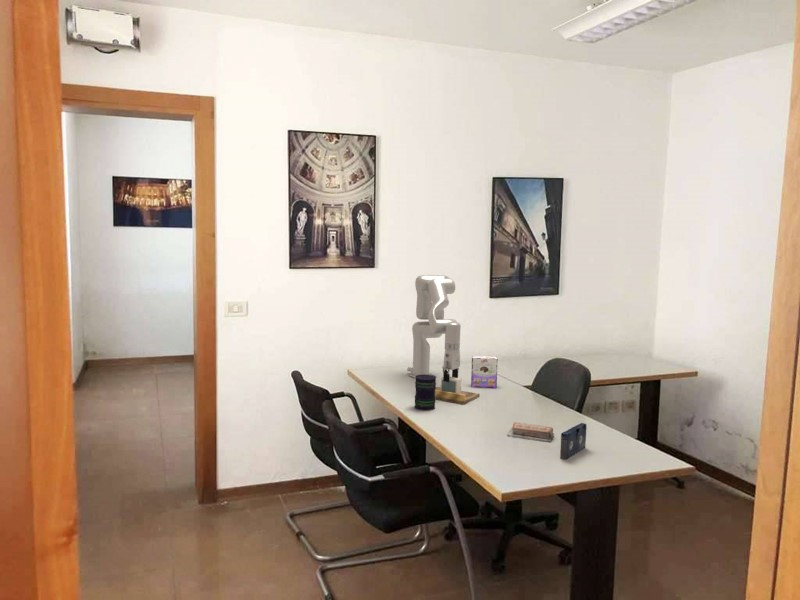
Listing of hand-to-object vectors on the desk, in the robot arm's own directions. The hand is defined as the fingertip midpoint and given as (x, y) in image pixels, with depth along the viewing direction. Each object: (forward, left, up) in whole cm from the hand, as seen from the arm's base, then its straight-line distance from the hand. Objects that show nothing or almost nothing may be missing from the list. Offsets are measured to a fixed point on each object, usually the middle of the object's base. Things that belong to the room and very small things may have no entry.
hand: (450, 379), depth 328 cm
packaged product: (+55, -36, -10) cm, 67 cm away
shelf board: (0, 0, -9) cm, 9 cm away
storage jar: (-1, -25, -9) cm, 27 cm away
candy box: (+5, +30, -9) cm, 32 cm away
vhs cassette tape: (+76, -46, -9) cm, 90 cm away
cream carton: (0, 0, -7) cm, 7 cm away
